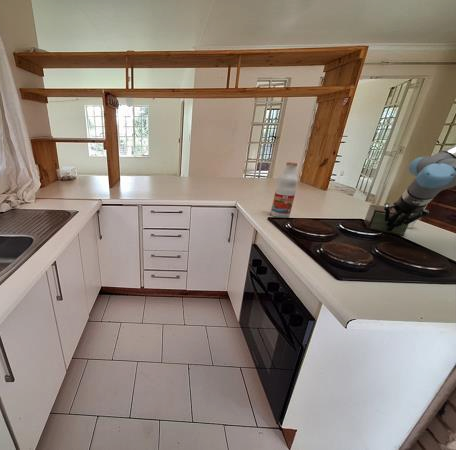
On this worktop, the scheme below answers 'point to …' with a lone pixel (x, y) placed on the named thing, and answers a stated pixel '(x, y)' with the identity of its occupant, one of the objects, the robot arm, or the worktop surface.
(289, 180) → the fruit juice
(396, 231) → the drawer
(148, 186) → the worktop surface
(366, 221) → the cabinet
